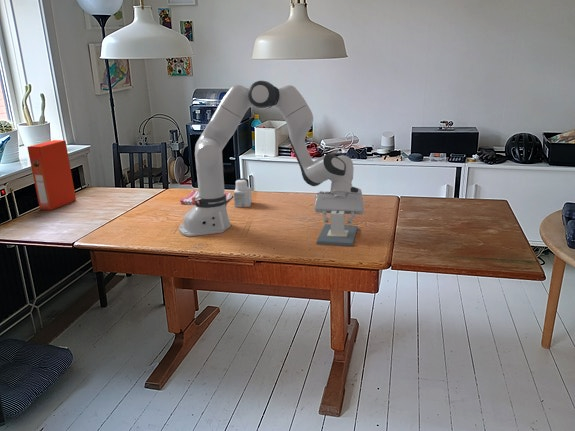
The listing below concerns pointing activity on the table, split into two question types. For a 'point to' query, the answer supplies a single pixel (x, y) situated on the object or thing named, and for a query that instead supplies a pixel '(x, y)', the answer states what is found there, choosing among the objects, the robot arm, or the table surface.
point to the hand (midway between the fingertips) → (337, 222)
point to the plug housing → (337, 222)
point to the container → (242, 193)
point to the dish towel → (195, 194)
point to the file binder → (52, 174)
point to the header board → (337, 236)
